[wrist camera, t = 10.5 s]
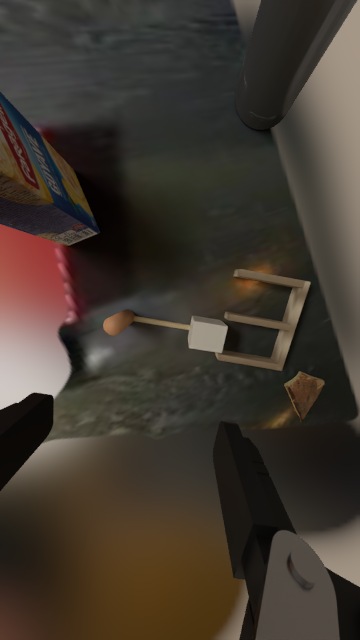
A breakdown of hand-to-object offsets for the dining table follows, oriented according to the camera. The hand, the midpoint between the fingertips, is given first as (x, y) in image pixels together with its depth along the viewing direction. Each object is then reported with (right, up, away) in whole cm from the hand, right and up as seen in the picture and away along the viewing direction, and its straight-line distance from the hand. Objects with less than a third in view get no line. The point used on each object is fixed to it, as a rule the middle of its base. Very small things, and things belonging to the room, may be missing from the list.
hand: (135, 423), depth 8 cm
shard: (+31, -11, +31) cm, 45 cm away
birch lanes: (+18, +5, +27) cm, 33 cm away
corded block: (0, +4, +28) cm, 28 cm away
